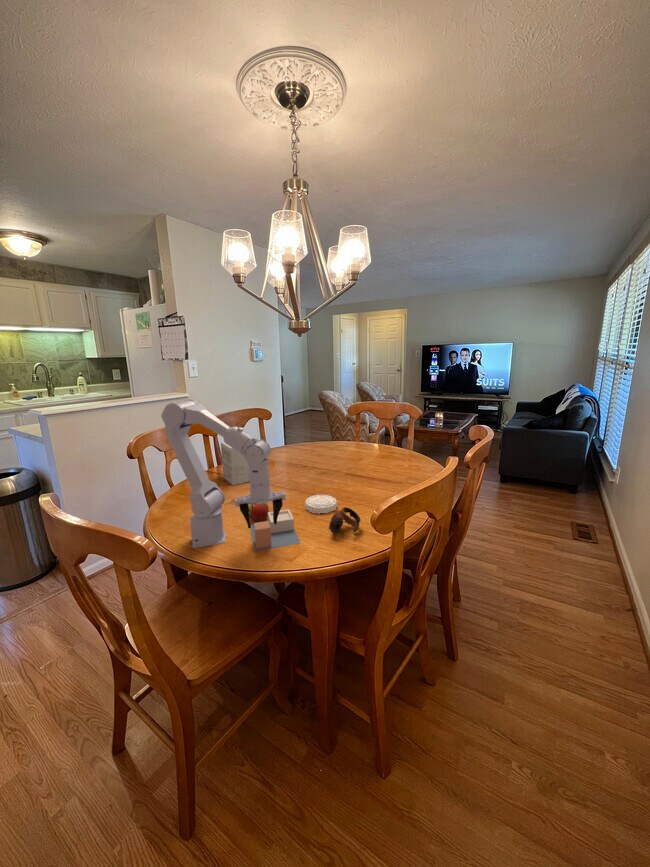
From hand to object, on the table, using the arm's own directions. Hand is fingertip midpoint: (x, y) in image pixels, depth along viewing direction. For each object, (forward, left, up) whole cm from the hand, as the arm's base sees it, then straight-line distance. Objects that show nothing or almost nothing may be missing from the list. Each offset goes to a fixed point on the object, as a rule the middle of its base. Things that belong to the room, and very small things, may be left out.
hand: (262, 524), depth 101 cm
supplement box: (-3, +61, -7) cm, 61 cm away
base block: (+7, +9, -6) cm, 13 cm away
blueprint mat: (+4, +5, -7) cm, 9 cm away
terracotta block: (0, 0, -6) cm, 6 cm away
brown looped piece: (+26, +1, -7) cm, 27 cm away
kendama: (+1, +22, -7) cm, 23 cm away
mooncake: (+24, +19, -7) cm, 31 cm away
